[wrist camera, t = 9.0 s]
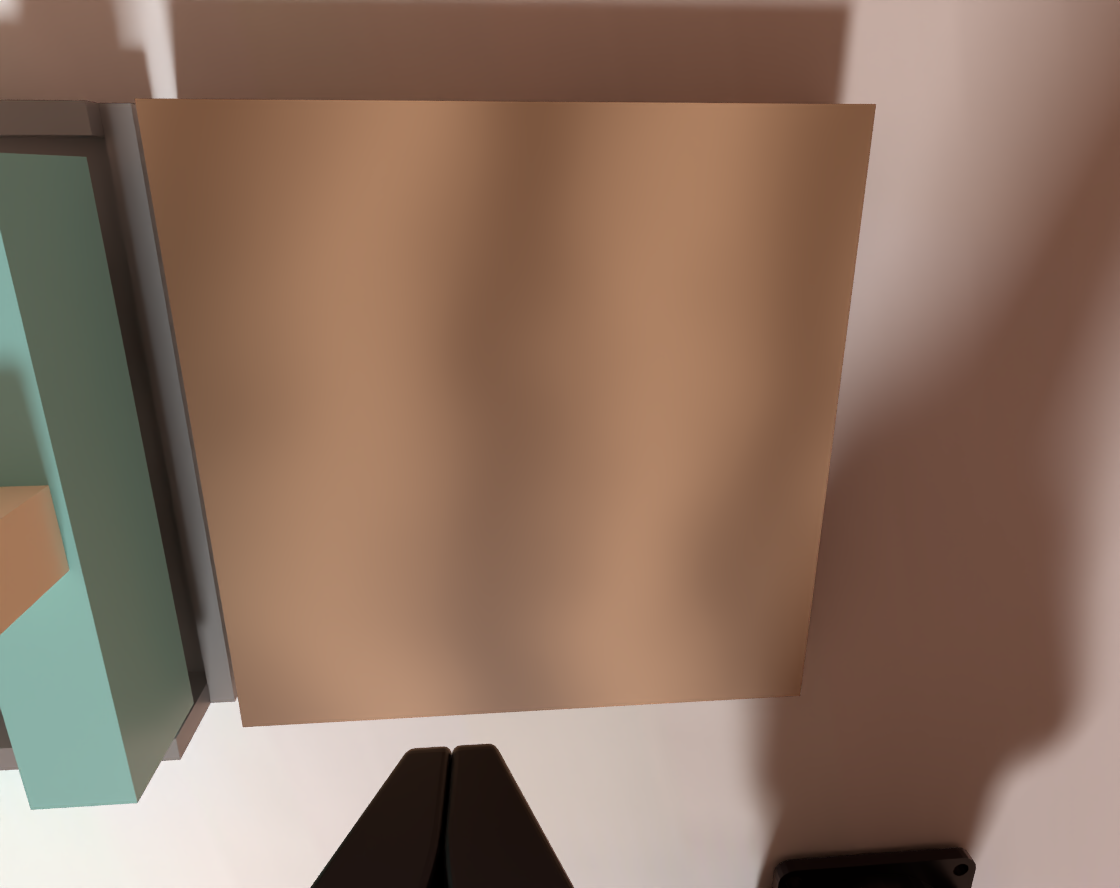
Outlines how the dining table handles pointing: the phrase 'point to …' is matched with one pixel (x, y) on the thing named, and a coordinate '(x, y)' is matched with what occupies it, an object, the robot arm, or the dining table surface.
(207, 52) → the dining table surface
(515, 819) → the robot arm
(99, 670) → the long mint beam
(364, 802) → the dining table surface
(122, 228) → the box
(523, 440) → the walnut board
